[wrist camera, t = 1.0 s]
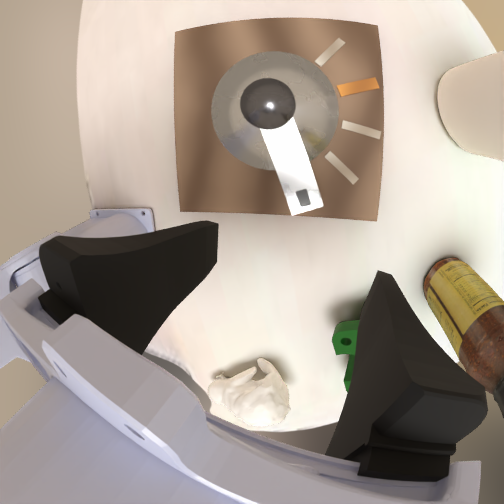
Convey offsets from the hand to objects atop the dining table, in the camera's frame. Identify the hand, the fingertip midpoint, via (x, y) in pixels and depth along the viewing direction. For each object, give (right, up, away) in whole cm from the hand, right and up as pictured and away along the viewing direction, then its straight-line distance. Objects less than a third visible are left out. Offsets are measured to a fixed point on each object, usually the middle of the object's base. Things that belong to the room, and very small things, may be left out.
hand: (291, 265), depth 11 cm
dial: (+1, +11, +9) cm, 14 cm away
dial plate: (+1, +13, +10) cm, 16 cm away
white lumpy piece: (-2, -16, +24) cm, 29 cm away
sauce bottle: (+19, -2, +13) cm, 23 cm away
